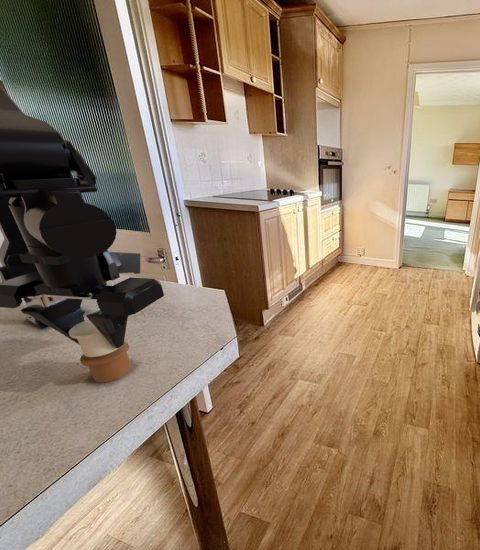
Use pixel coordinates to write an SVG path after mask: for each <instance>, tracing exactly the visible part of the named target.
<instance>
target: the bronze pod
mask: <svg viewBox="0 0 480 550" xmlns="http://www.w3.org/2000/svg"><path fill="white" fill-rule="evenodd" d="M129 350H130V344H129V343H128V342H127V341H125V340H124V344H123V345H122V346H121V347H120V348H118V349H117V350H115V351H113V352H111V353H108V354H106V355H102V356H98V357H87V356H85V355H84V354H82V355H81V356H80V358H79V362H80V364H81V365H83V366H84V367H88V369H89V372H90V374H91V376H92V379H93V381H94V382H96V383H99V384H100V383H102V384H105V383H109V382H113V381H115V380H118V379H120V378H123V377H124V376H125V375H127V374H128V373H129V372H130V371H131V369H132V367H133V365H132V363H131V360H130V356H129V355H128V351H129Z"/></svg>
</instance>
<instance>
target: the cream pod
mask: <svg viewBox="0 0 480 550" xmlns="http://www.w3.org/2000/svg"><path fill="white" fill-rule="evenodd" d="M84 320H85V321H83V322H81V323H79V324H77V325H75V326H74V327H72V328H71V329H70V330H69V335H70V337H72V338H75V339H77V340H78V342H79V344H80V345H79V344H78V345H79V346H80V349H81V351H82V353H83V354H84V355H85V356H87V357H98V356H102V355H106V354H108V353H111V352H113V351H115V350H117V349H118V348H114V347H113V346H112V345H111V344H110V343H109V342H108V341H107V340H106V338H105V337H104V336H103V335H102V334H101V333H100V332H99V330H98V329H97V328H96V327H95V326H94V325H93V324H92V322H91V321H90V320H89V319H88V318H87V319H84ZM119 348H120V347H119ZM83 354H82V355H83Z"/></svg>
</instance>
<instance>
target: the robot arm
mask: <svg viewBox="0 0 480 550" xmlns="http://www.w3.org/2000/svg"><path fill="white" fill-rule="evenodd" d="M96 185H97V177H96V175H95V174H94V172H93V171H92V169H91V168H90V166H89V164H88V163H87V162H86V160H85V159H84V157H83V156H82V154H81V152H79V150H77V149H76V148H75V146H74V145H73V144H72V142H71V141H70V140H68V139H65V138H64V136H63V135H62V134H61V132H59V131H58V130H57V129H55V128H54V127H53V126H52V125H51V124H50V123H48V122H47V121H45V120H42V119H39V118H36V117H33V116H30V115H27V114H25V113H24V112H23V111H22V109H21V108H20V107H19V106H18V105H17V104H16V102H15V101H14V100H13V99H12V97H11V96H10V94H9V92H8V90H7V88H6V86H5V84H4V81H2V79H0V233H1V234H2V237H3V241H2V243H1V246H0V264H1V266H0V278H1V282H0V308H3V309H16V308H19V307H21V305H22V303H23V301H24V303H25V305H26V307H23V308H22V309H20V312H21V313H22V314H23V315H28V317H26V318H25V320H26V321H27V322H29V323H31V324H33V325H34V326H36V327H39V329H45V328H48V327H49V328H51V329H53V330H54V331H56V332H58V333H59V334H61V335H63V336H64V337H66V338H68V339H69V340H70V341H72V342H74V343H75V344H77V345H79V346H80V344H79V342H78V340H77V339H75V338H72V337H70V335H69V330H70V329H71V328H72V327H74V326H75V325H77V324H79V323H81V322H83V321H85V320H86V319H85V317H86V318H87V320H88V319H89V320H90V321H91V322H92V324H93V325H94V326H95V327H96V328H97V329H98V330H99V332H100V333H101V334H102V335H103V336H104V337H105V338H106V340H107V341H108V342H109V343H110V344H111V345H112V346H113V347H114V348H119V347H121V346H122V345H123V344H124V341H125V339H126V332H127V325H128V319H129V316H133V315H136V314H138V313H139V312H141V311H142V310H143V309H145V308H147V307H149V306H151V305H152V304H153V303H155V302H157V301H159V300H160V299H162V298H163V297H165V293H164V289H163V286H162V283H161V281H159V280H157V279H155V278H149V277H131V276H130V277H128V278H126V279H124V280H122V281H119V282H117V283H115V284H113V285H108V283H107V282H110V281H111V282H112V281H115V280H117V279H119V278H121V274H135V275H138V274H139V275H140V274H141V252H138V253H137V252H122V251H121V252H120V251H109V249H110V248H111V247H112V245H114V243H115V240H116V238H117V233H118V232H117V226H116V223H115V221H114V220H113V218H112V217H111V216H110V215H109V214H108V213H107V212H106V211H104V210H103V209H102V208H100V207H98V206H96V205H94V204H91V203H88V202H85V200H84V199H83V198H84V197H83V195H82V194H87V193H97V192H98V188H97V186H96ZM84 300H86V301H89V300H95V301H96V304H97V306H98V309H95V310H94V311H92V312H90V313H88V314H86V316H85V317H84V314H85V313H86V311H85V310H84V309H83V308H81V306H82V303H83V301H84Z"/></svg>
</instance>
